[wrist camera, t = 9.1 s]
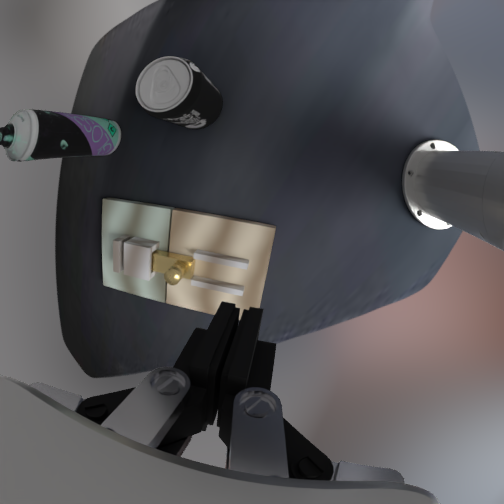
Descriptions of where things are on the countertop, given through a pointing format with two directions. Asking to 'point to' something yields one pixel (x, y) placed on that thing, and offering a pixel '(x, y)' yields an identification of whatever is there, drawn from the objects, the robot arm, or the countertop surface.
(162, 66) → the beverage can
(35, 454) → the robot arm
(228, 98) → the countertop surface
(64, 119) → the spray can
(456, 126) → the countertop surface
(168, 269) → the bolt
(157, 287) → the latch board
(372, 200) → the countertop surface
